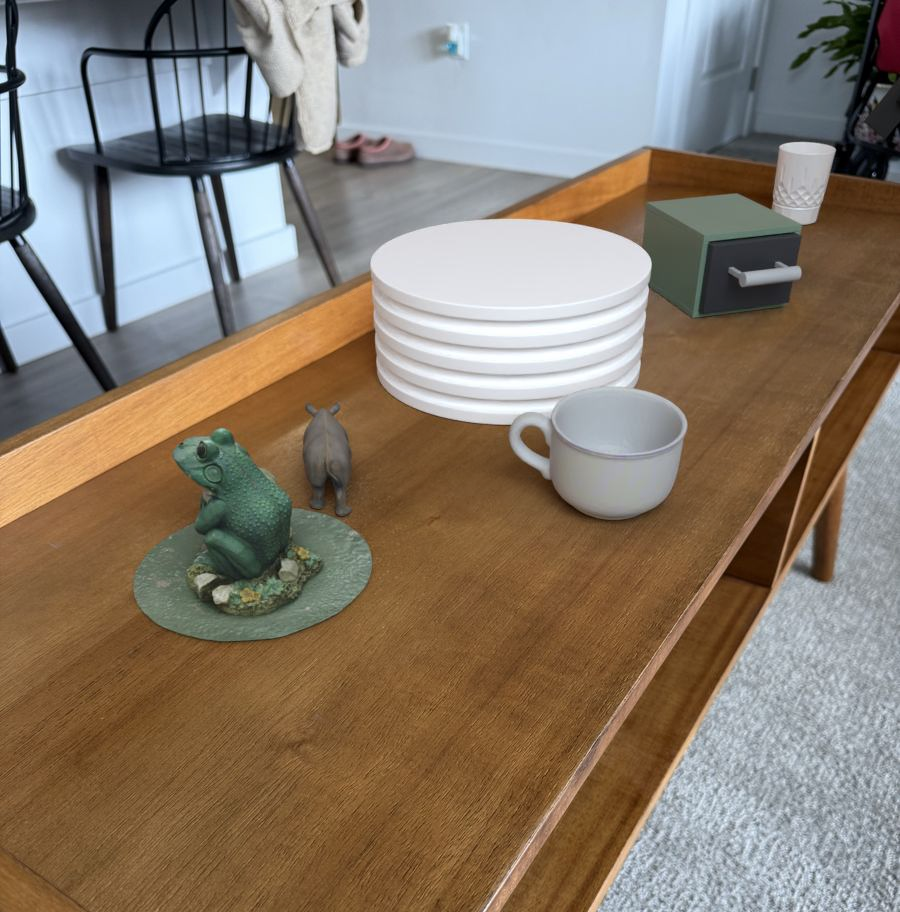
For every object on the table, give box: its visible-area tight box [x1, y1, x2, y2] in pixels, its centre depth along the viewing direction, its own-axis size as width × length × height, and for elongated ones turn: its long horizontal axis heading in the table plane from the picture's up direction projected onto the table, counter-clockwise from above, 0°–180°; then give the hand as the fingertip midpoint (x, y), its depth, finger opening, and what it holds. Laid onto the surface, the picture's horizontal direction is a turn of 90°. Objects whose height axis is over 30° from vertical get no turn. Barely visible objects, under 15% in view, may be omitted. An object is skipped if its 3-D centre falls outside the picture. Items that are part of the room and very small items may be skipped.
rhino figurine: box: [301, 402, 353, 517], centre depth 83 cm, size 4×14×6 cm, turn 9°
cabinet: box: [641, 193, 803, 319], centre depth 118 cm, size 15×13×10 cm
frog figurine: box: [132, 427, 373, 642], centre depth 70 cm, size 18×18×12 cm
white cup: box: [771, 141, 837, 226], centre depth 143 cm, size 8×8×10 cm
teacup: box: [508, 386, 688, 521], centre depth 79 cm, size 14×11×8 cm
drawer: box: [699, 233, 803, 314], centre depth 115 cm, size 18×11×8 cm, turn 17°
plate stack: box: [369, 218, 652, 426], centre depth 100 cm, size 28×28×12 cm
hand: (874, 130), depth 107 cm, fingers closed
